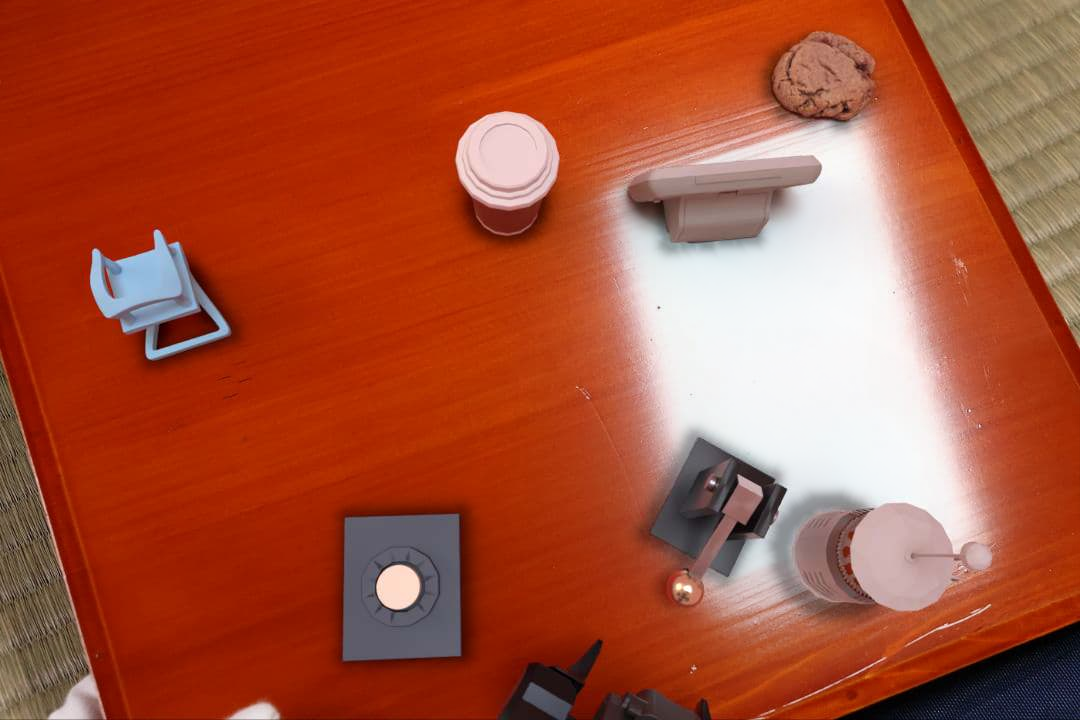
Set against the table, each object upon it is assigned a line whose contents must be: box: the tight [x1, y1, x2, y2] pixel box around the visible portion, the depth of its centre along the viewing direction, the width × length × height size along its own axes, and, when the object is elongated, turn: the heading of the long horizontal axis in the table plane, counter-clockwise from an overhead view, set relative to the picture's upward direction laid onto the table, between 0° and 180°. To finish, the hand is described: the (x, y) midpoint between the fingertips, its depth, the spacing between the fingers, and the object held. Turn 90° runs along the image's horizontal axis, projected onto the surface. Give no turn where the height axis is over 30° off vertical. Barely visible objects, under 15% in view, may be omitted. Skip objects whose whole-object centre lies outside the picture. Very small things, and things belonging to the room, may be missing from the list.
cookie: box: [770, 30, 876, 121], centre depth 89 cm, size 10×11×3 cm
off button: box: [376, 565, 422, 610], centre depth 73 cm, size 4×4×2 cm
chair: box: [89, 229, 232, 361], centre depth 76 cm, size 8×8×12 cm
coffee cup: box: [454, 110, 561, 237], centre depth 80 cm, size 9×9×12 cm
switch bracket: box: [648, 436, 788, 578], centre depth 74 cm, size 10×8×12 cm
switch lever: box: [666, 475, 763, 609], centre depth 71 cm, size 12×3×3 cm, turn 151°
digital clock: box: [627, 154, 823, 244], centre depth 81 cm, size 16×9×11 cm, turn 85°
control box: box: [342, 513, 463, 662], centre depth 75 cm, size 12×10×4 cm
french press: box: [791, 502, 994, 612], centre depth 67 cm, size 10×12×25 cm
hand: (649, 672), depth 68 cm, fingers open, 9 cm apart
